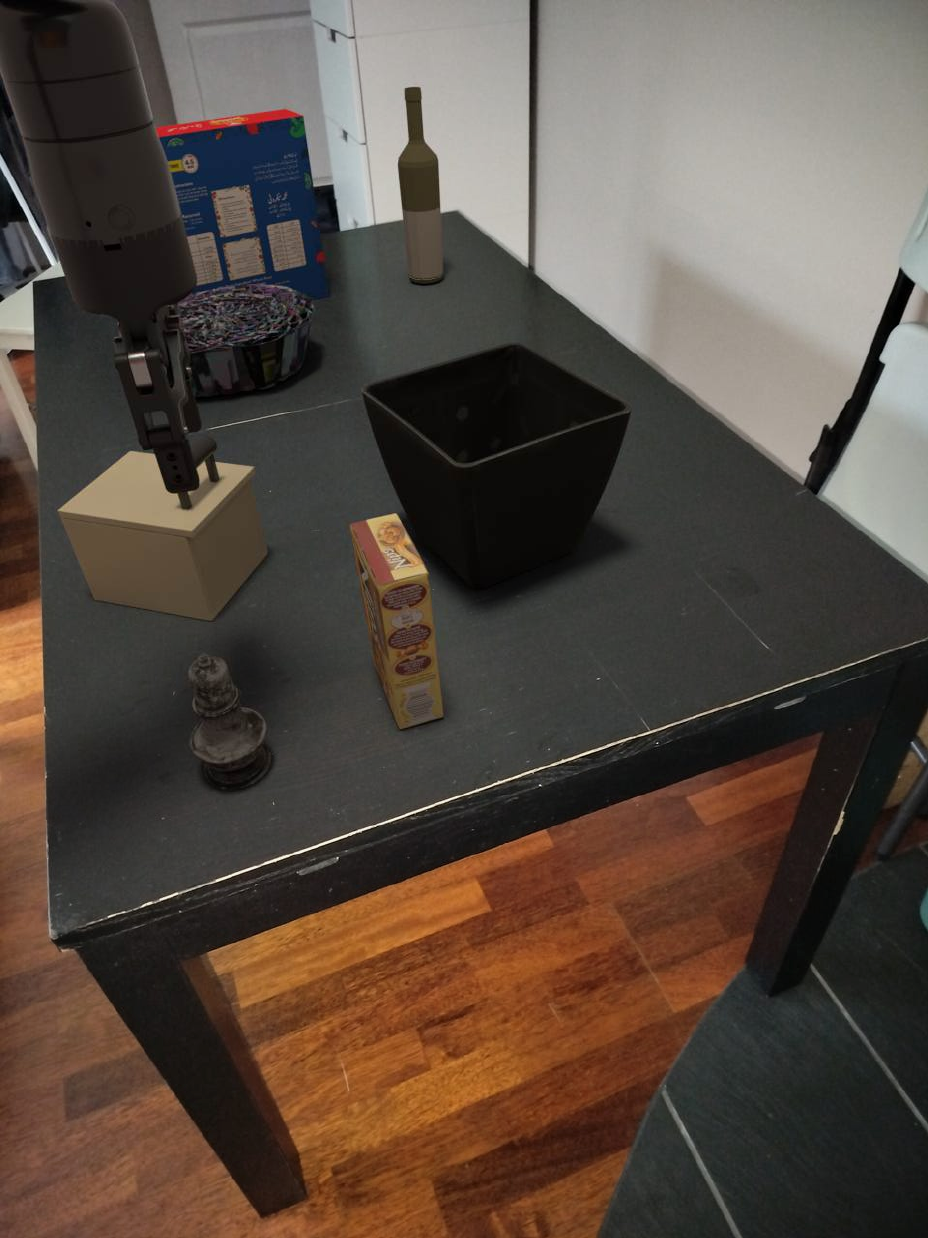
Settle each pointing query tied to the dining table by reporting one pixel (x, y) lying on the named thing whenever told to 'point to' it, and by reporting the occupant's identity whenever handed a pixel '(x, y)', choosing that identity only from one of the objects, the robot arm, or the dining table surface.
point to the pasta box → (248, 201)
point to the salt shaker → (226, 728)
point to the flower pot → (497, 456)
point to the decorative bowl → (245, 336)
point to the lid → (158, 494)
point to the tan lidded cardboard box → (172, 561)
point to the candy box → (399, 618)
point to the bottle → (420, 197)
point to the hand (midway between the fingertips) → (186, 458)
